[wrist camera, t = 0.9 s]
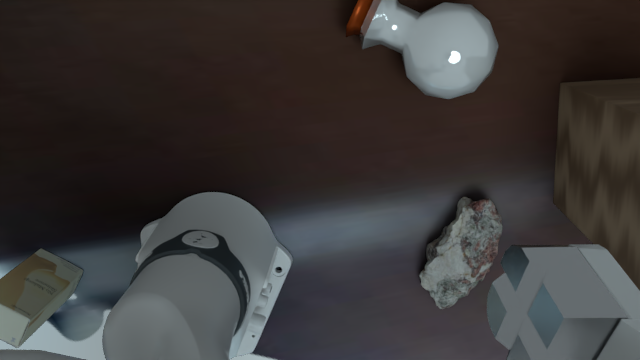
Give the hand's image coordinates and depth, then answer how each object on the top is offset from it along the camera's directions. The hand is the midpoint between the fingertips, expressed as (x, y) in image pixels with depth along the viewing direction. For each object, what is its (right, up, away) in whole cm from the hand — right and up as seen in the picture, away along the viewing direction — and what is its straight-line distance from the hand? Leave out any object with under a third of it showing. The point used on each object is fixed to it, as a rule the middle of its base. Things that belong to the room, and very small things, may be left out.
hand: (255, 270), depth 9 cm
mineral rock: (+18, -7, +60) cm, 63 cm away
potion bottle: (+12, +17, +53) cm, 56 cm away
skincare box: (-33, -10, +64) cm, 72 cm away
